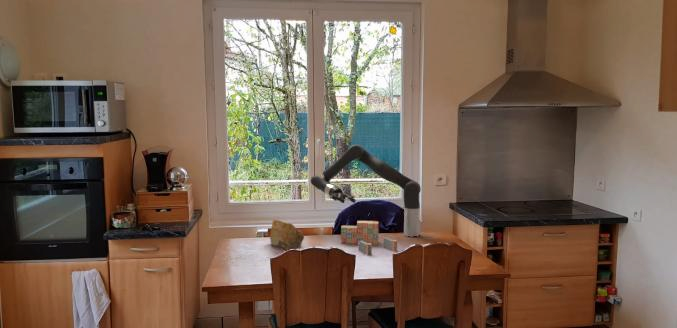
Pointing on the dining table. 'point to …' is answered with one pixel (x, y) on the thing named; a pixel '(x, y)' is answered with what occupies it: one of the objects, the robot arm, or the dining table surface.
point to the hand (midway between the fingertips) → (349, 201)
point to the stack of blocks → (360, 232)
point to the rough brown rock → (285, 235)
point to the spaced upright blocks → (367, 247)
